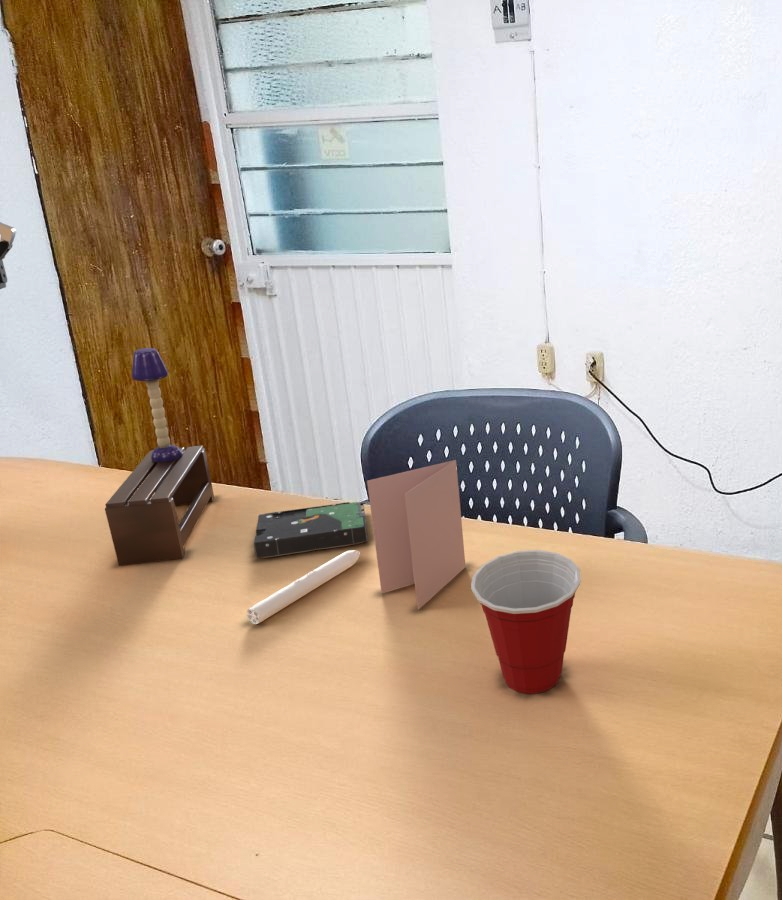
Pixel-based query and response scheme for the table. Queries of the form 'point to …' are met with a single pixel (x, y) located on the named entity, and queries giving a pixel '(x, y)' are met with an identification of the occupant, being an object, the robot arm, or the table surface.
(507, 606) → the plastic cup
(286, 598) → the marker
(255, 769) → the table surface
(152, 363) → the toy lamp
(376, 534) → the greeting card
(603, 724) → the table surface
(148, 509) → the bench
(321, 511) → the disk drive
